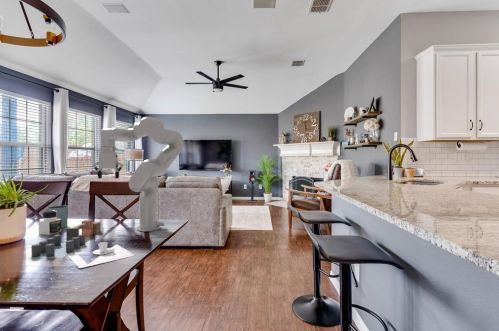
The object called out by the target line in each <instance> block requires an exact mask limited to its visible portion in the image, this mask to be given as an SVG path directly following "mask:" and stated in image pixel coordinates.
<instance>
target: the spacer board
mask: <svg viewBox="0 0 499 331" xmlns="http://www.w3.org/2000/svg"><path fill="white" fill-rule="evenodd" d="M86 244H88V242H86V237H85V234H82V233H80V234H79V235H78V237H75V238H72V240H69V241H65V242H62V235H61V234H54V235H52V237H48V238H46V240H42V241H39V243H35V244H32V245H31V256H30V257H28V258H27V260H38V259H39V260H40V259H42V260H43V259H46V260H47V259H63V258H65V257H68V255H67V254H71V253H75V251H76V250H78V249H80V248H82V247H83V246H85V245H86Z"/></svg>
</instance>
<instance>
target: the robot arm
mask: <svg viewBox="0 0 499 331" xmlns="http://www.w3.org/2000/svg"><path fill="white" fill-rule="evenodd" d="M144 137H149V139H151V140H152V141H154V142H156V143H157V144H159V145H163V146H165V145H166V146H165V147H164V148H163V149H162V150H161V151H160V152H159V154H158V155H157V156H156V157H155V158H154V159H153V158H149V159H145V160H143V161H142V162H141V163H140V164H139V165H138V166H137V167H136V170H134V172H133V174H131V176H130V178H129V181H128V187H129V189H130V190H131V191H132V192H135V193H139V197H138V198H139V202H138V205H139V207H138V208H139V209H138V210H139V212H138V214H139V216H138V217H139V219H138V221H139V226H136V231H138V232H153V231H157V230H159V229H160V228H161V227H164V226H165V224H166V223H165V222H164V221H160V219H158V190H159V186H160V185H159V184H160V181H159V177H160V176H163V175H165V173H167V171H168V170H169V168H170V167H171V165H172V164H173V163H174V161H175V160H176V159H177V157H178V156H179V155H180V154H181V152H182V151H183V147H184V137H183V136H182V134H181V132H179V131H176V130H173V129H168V128H165V124H164V122H163V121H162V120H161V119H159V118H154V117H150V116H144V117H142V118H141V119H140V120H139V122H135V123H133V126H132V128H128V129H126V128H122V127H121V128H119V127H111V128H102V129H101V130H100V152H99V155H98V161H97V162H96V163H93V164H92V166H93V169H94V170H95V171H96V172H97V179H99V180H100V179H102V178H103V172H102V170H103V169H106V170H109V169H110V170H112V169H114V171H115V172H114V179H119V177H120V171H121V170H122V169H123V168H124V165H125V164H123V163H122V162H119V157H118V152H117V151H118V149H119V148H118V147H116V142H132V141H137V140H140V139H141V138H144Z"/></svg>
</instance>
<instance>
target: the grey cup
mask: <svg viewBox="0 0 499 331" xmlns="http://www.w3.org/2000/svg"><path fill="white" fill-rule="evenodd" d="M51 210H55V211H57V218H56V219H61V229H64V228H68V213H69V206H68V205H66V204H65V205H54V206H53V205H52V206H48V207H46V211H51Z"/></svg>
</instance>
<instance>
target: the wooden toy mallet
mask: <svg viewBox="0 0 499 331" xmlns="http://www.w3.org/2000/svg"><path fill="white" fill-rule="evenodd" d="M101 225H102V224H101V221H94V220H93V219H84V220H82V221H81V224H78V225H76V226H72V227H66V230H65V231H66V235H65V237H66V238H65V240H66V241H69V240H72V238H75V237H78V235H80V231H81V234H85V238H86V237H91V236H93V235H97V234H99V233H101V231H102V230H101V229H102V228H101ZM66 241H65V242H66Z"/></svg>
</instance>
